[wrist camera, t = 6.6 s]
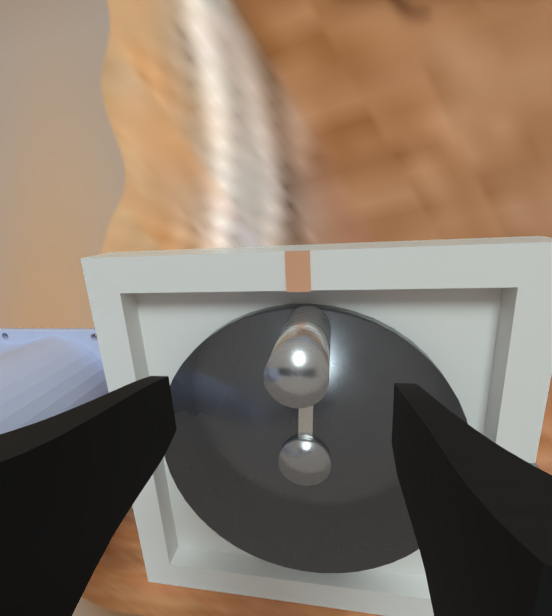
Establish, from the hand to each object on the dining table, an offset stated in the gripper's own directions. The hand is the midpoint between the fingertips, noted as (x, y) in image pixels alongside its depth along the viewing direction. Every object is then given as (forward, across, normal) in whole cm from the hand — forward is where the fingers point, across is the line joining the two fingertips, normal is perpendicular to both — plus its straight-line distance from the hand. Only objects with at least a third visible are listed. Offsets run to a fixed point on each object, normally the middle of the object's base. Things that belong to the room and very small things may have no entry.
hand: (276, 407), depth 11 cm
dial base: (+10, 0, +8) cm, 13 cm away
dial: (+9, 0, +8) cm, 12 cm away
